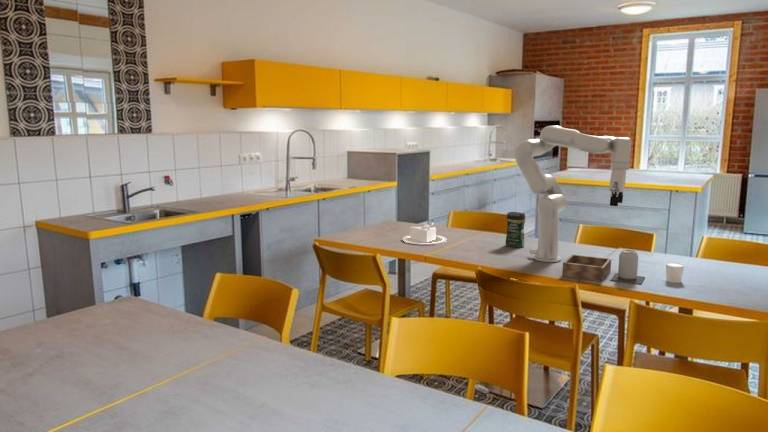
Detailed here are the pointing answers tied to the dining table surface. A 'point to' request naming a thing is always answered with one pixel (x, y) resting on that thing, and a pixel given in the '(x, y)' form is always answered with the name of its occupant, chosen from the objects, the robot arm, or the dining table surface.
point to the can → (628, 264)
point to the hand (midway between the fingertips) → (616, 204)
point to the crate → (587, 267)
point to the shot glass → (674, 272)
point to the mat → (635, 281)
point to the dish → (424, 235)
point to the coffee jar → (515, 229)
